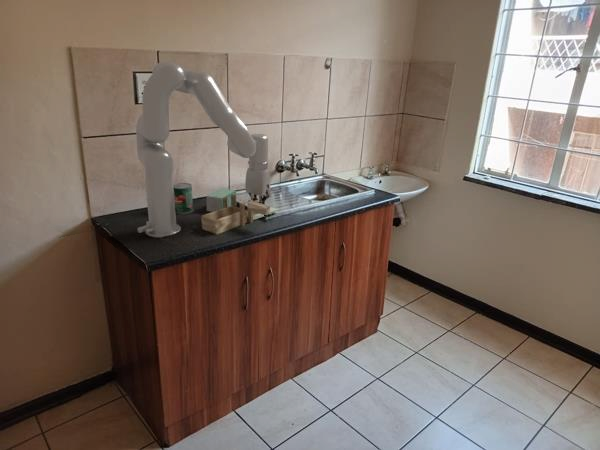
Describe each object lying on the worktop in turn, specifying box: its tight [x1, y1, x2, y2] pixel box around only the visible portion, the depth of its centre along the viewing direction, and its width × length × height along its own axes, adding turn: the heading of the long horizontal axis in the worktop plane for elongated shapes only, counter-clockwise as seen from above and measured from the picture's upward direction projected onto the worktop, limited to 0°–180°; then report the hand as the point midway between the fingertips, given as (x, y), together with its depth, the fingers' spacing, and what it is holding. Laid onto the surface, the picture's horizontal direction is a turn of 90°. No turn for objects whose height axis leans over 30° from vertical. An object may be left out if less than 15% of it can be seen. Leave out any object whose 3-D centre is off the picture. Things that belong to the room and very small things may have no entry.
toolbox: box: [201, 194, 254, 235], centre depth 171 cm, size 18×11×10 cm, turn 143°
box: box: [205, 188, 237, 213], centre depth 191 cm, size 7×14×8 cm, turn 160°
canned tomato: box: [173, 182, 194, 215], centre depth 187 cm, size 8×8×11 cm
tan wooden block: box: [247, 201, 271, 216], centre depth 168 cm, size 2×9×3 cm, turn 53°
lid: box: [247, 199, 279, 221], centre depth 184 cm, size 16×8×6 cm, turn 143°
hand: (258, 209), depth 184 cm, fingers closed on lid, 2 cm apart
